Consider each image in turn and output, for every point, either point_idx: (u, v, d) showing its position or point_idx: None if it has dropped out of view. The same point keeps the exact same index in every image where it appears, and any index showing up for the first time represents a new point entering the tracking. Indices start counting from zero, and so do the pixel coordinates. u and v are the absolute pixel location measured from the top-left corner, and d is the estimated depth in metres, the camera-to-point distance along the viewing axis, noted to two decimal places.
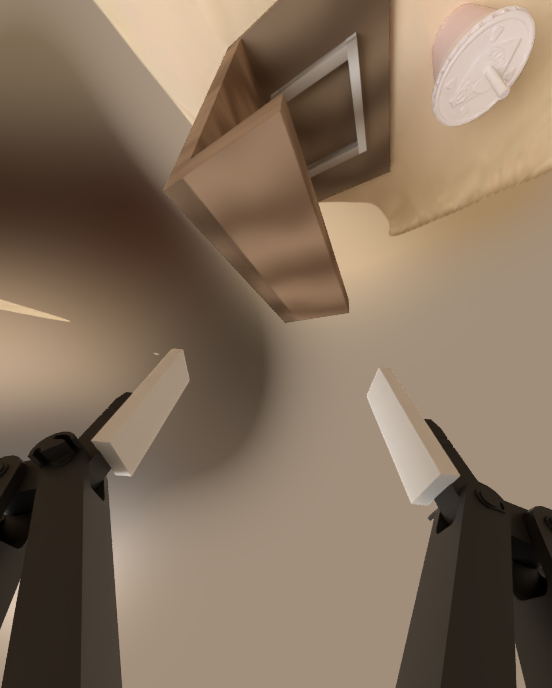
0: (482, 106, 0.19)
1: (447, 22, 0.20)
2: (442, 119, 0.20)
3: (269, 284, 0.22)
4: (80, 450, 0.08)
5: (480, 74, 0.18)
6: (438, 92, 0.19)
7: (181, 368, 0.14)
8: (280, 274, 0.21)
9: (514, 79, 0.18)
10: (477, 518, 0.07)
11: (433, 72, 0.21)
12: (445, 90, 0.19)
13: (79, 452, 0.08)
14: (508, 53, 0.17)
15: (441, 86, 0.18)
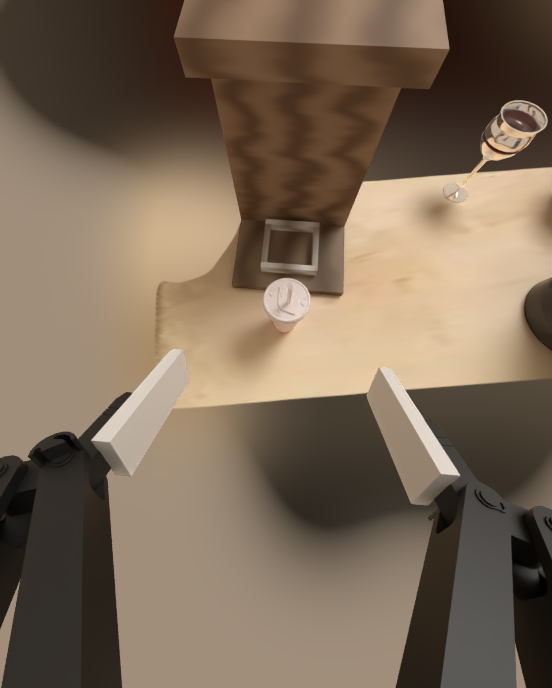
0: (268, 303, 0.27)
1: None
2: (274, 282, 0.28)
3: None
4: (80, 450, 0.08)
5: None
6: (291, 280, 0.28)
7: (181, 368, 0.14)
8: None
9: (275, 317, 0.27)
10: (477, 518, 0.07)
11: None
12: (290, 283, 0.28)
13: (79, 452, 0.08)
14: (291, 310, 0.27)
15: (294, 281, 0.28)
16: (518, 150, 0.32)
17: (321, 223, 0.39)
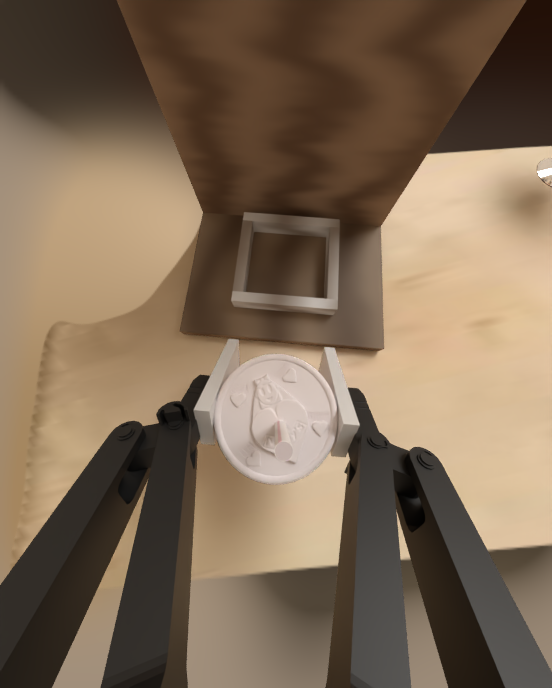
0: (228, 427, 0.10)
1: None
2: (245, 366, 0.11)
3: None
4: (187, 421, 0.09)
5: (282, 415, 0.10)
6: (288, 359, 0.11)
7: (237, 356, 0.15)
8: None
9: (242, 470, 0.10)
10: (370, 461, 0.08)
11: None
12: (286, 367, 0.11)
13: (186, 422, 0.09)
14: None
15: (295, 362, 0.11)
16: None
17: (341, 221, 0.23)
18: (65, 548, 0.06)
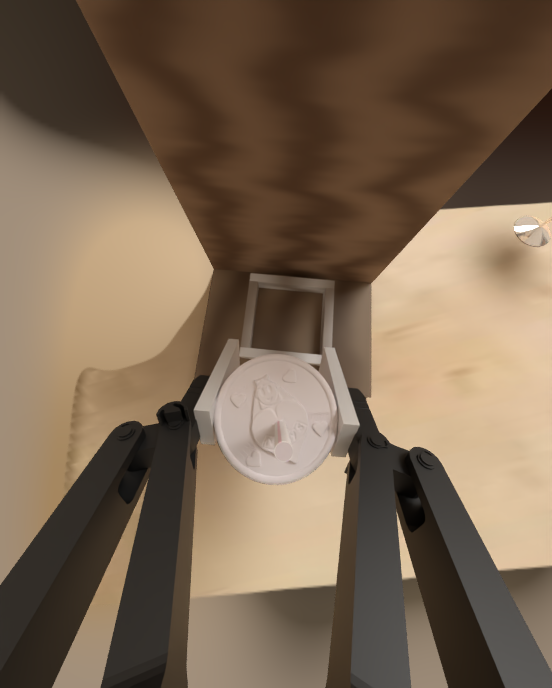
0: (228, 428, 0.10)
1: None
2: (245, 367, 0.11)
3: None
4: (187, 421, 0.09)
5: (282, 415, 0.10)
6: (288, 359, 0.11)
7: (237, 356, 0.15)
8: None
9: (242, 470, 0.10)
10: (370, 461, 0.08)
11: None
12: (286, 368, 0.11)
13: (186, 422, 0.09)
14: None
15: (295, 362, 0.11)
16: None
17: (336, 279, 0.26)
18: (65, 548, 0.06)
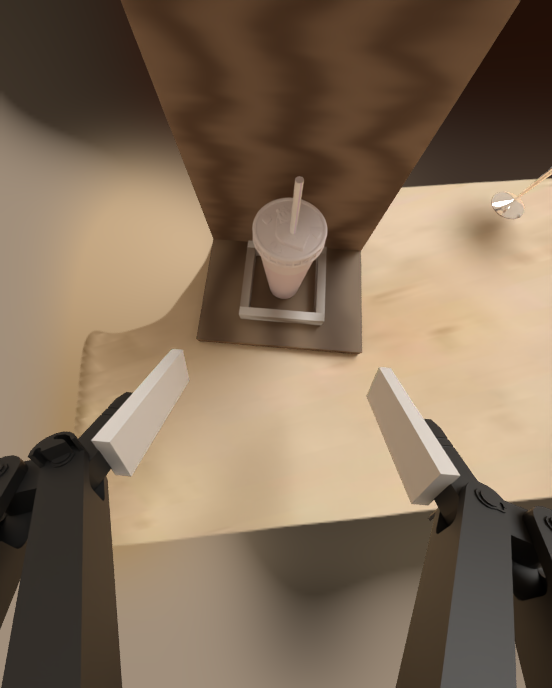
0: (261, 234, 0.17)
1: None
2: (271, 203, 0.18)
3: None
4: (80, 450, 0.08)
5: None
6: None
7: (181, 368, 0.14)
8: None
9: (271, 253, 0.16)
10: (477, 518, 0.07)
11: None
12: None
13: (79, 452, 0.08)
14: (297, 242, 0.17)
15: (301, 202, 0.18)
16: None
17: (328, 247, 0.28)
18: None
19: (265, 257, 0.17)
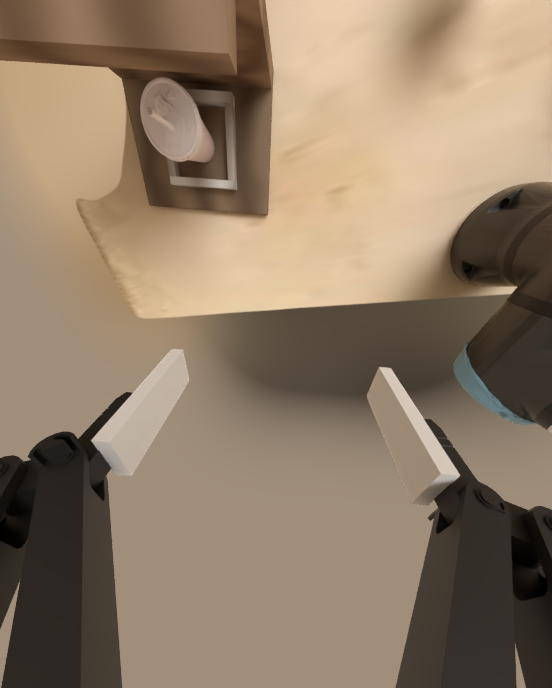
0: (150, 130, 0.23)
1: None
2: (147, 88, 0.21)
3: None
4: (80, 450, 0.08)
5: (171, 120, 0.22)
6: (168, 81, 0.21)
7: (181, 368, 0.14)
8: None
9: (162, 152, 0.24)
10: (477, 518, 0.07)
11: None
12: (168, 88, 0.21)
13: (79, 452, 0.08)
14: (177, 140, 0.23)
15: (172, 83, 0.21)
16: None
17: (237, 85, 0.27)
18: None
19: None
